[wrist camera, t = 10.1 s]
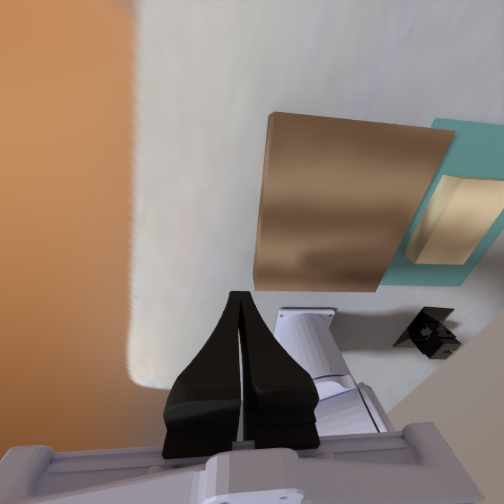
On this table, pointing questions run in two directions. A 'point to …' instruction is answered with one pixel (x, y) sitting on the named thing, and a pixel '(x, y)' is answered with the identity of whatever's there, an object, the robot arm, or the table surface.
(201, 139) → the table surface
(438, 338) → the black slotted bracket
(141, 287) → the table surface
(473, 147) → the teal mat
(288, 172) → the walnut board
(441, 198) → the beech tile
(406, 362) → the table surface
